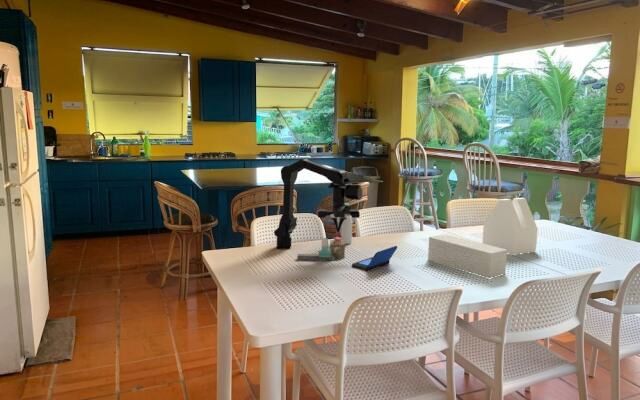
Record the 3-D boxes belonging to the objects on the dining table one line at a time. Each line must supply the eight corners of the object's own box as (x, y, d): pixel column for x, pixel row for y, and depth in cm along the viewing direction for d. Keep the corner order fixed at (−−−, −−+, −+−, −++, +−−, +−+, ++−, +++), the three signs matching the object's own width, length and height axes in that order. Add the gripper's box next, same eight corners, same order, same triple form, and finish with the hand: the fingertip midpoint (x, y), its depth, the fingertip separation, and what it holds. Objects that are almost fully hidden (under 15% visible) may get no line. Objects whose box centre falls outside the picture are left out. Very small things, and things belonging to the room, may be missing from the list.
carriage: (319, 257, 217) (319, 240, 216) (318, 254, 222) (319, 237, 221) (330, 257, 218) (331, 240, 216) (330, 254, 222) (330, 237, 221)
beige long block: (427, 260, 222) (429, 236, 221) (443, 256, 229) (445, 234, 227) (489, 279, 197) (491, 253, 195) (505, 275, 203) (507, 249, 201)
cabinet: (331, 257, 223) (331, 244, 222) (330, 252, 231) (330, 240, 230) (344, 257, 223) (344, 244, 222) (343, 252, 231) (343, 240, 230)
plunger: (334, 249, 225) (334, 239, 224) (333, 247, 228) (333, 237, 228) (341, 249, 225) (341, 239, 224) (340, 248, 228) (340, 237, 228)
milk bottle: (351, 241, 254) (352, 202, 250) (351, 244, 246) (352, 205, 243) (336, 240, 254) (337, 201, 251) (335, 244, 247) (336, 204, 243)
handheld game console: (372, 259, 222) (373, 239, 220) (397, 266, 213) (398, 245, 211) (350, 267, 210) (350, 246, 209) (375, 274, 201) (376, 252, 200)
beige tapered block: (482, 246, 249) (485, 196, 244) (504, 243, 255) (508, 195, 251) (512, 255, 232) (516, 203, 227) (535, 252, 238) (540, 201, 234)
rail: (297, 260, 218) (297, 255, 218) (297, 258, 221) (297, 253, 221) (333, 260, 219) (334, 255, 219) (333, 258, 222) (333, 254, 221)
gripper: (318, 201, 215) (318, 236, 217) (361, 201, 215) (360, 236, 218) (317, 196, 226) (317, 230, 228) (358, 197, 226) (357, 230, 229)
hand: (338, 232), depth 225 cm, fingers closed
